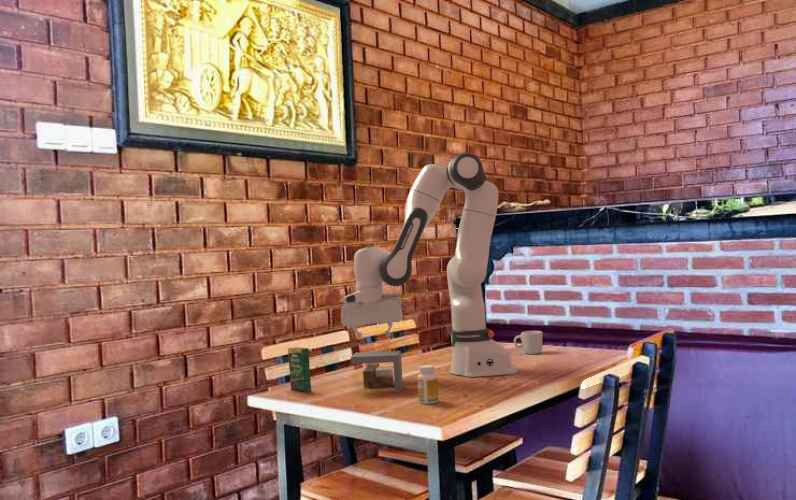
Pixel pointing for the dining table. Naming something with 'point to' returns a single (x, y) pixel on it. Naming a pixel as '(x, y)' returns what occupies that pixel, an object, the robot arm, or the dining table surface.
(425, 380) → the supplement bottle
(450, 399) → the dining table surface
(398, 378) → the low shelf
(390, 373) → the cream block
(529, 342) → the cup
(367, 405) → the dining table surface
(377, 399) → the dining table surface
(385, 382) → the wooden stepped block
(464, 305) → the robot arm
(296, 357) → the coffee box
